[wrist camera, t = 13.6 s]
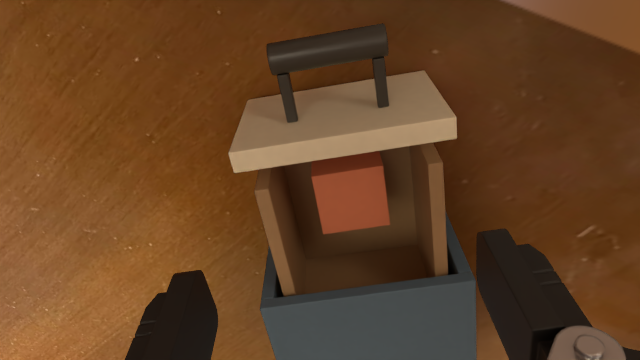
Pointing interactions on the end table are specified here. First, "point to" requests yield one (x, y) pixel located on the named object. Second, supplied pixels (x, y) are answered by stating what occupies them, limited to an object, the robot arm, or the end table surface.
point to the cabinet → (377, 317)
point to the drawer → (343, 140)
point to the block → (350, 192)
